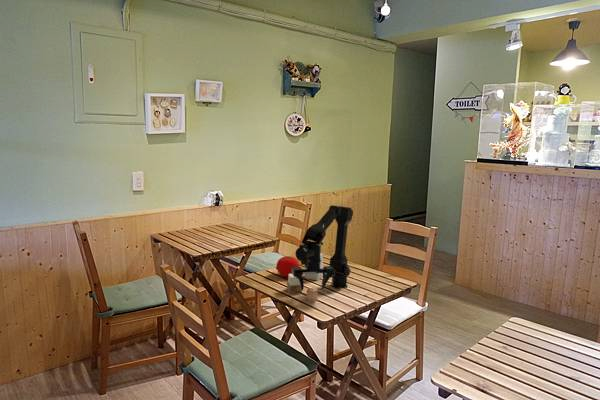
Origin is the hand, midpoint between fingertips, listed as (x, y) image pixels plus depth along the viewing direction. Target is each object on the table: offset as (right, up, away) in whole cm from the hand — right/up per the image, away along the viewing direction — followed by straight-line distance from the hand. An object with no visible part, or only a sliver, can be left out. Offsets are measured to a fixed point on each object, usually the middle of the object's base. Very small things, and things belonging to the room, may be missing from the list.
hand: (312, 289), depth 188 cm
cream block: (-8, +1, +9) cm, 12 cm away
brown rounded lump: (0, -5, +1) cm, 5 cm away
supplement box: (+1, 0, +30) cm, 30 cm away
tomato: (-12, 0, +31) cm, 34 cm away
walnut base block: (-8, -3, +10) cm, 13 cm away
